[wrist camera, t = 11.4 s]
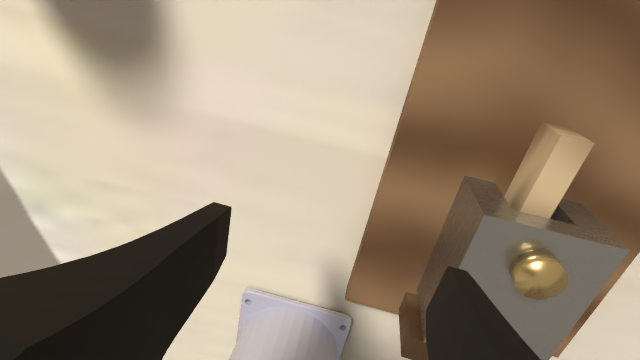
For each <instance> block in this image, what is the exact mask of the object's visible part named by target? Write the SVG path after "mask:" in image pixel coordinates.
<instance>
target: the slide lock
mask: <svg viewBox="0 0 640 360" xmlns="http://www.w3.org/2000/svg"><path fill="white" fill-rule="evenodd" d="M629 251H630V250H629V249H628V248H627V247H626V246H625V245H624V244H623V243H622V242H621V241H620V240H619V239H618V238H617V237H616V236H615V235H614V234H613V233H612V232H611V231H610V230H609V229H607V228H606V227H605V226H604V225H603V224H602V223H601V222H600V221H599V220H598V219H597V218H596V217H595V216H594V215H593V214H592V213H591V212H590V211H589V210H588V209H587V208H586V207H585V206H584V205H582V204H581V203H578V202H574V201H570V200H566V199H561V201H560V202H559V204H558V206H557V207H556V209H555V211H554V213H553V214H552V216H551V218H550V219H549V218H545V217H541V216H537V215H532V214H528V213H524V212H520V211H516V210H513V209H512V208H511V206H510V205H509V203H508V202H507V200H506V199H505V197H504V195H503V194H502V192H501V191H500V189H499V188H498V186H497V185H496V183H494V182H490V181H486V180H481V179H477V178H473V177H469V176H465V175H464V178H463V180H462V182H461V185H460V187H459V189H458V192H457V194H456V197H455V199H454V201H453V204H452V206H451V208H450V211H449V213H448V216H447V218H446V220H445V223H444V225H443V227H442V230H441V232H440V235H439V237H438V239H437V242H436V244H435V246H434V249H433V251H432V254H431V256H430V258H429V261H428V263H427V265H426V268H425V270H424V273H423V275H422V277H421V280H420V282H419V284H418V287H417V294H418V302H419V309H420V317H421V325H422V333H423V341H424V342H426V309H427V307H428V305H429V303H430V301H431V299H432V297H433V295H434V293H435V291H436V289H437V287H438V285H439V283H440V281H441V278H442V276H443V274H444V272H445V270H446V268H447V266H451V267H454V268H458V269H462V270H465V271H467V272H468V273H469V274H470V275H471V276H472V277H473V279H474V280H475V281H476V282H477V284H478V285H479V286H480V287H481V289H482V290H483V291H484V292H485V294H486V295H487V296H488V298H489V299H490V300H491V301H492V303H493V304H494V305H495V306H496V308H497V309H498V310H499V311H500V313H501V314H502V315H503V316H504V318H505V319H506V320H507V321H508V322H509V324H510V325H511V326H512V327H513V329H514V330H515V331H516V332H517V333H518V334H519V336H520V337H521V338H522V339H523V340H524V341H525V342H526V344H527V345H528V346H529V347H530V348H531V349H532V350H533V351H534V353H535V354H536V355H537V356H538V357H539V358H540V359H541V360H549V359H550V358H551V356H552V355H553V354H554V352H555V351H556V350H557V348H558V347H559V346H560V344H561V343H562V342H563V340H564V339H565V338H566V336H567V335H568V333H569V332H570V331H571V329H572V328H573V327H574V325H575V324H576V323H577V321H578V320H579V319H580V317H581V316H582V315H583V313H584V312H585V311H586V309H587V308H588V307H589V305H590V304H591V303H592V301H593V300H594V298H595V297H596V296H597V294H598V293H599V292H600V290H601V289H602V288H603V286H604V285H605V284H606V282H607V281H608V280H609V278H610V277H611V276H612V274H613V273H614V272H615V270H616V269H617V268H618V266H619V265H620V264H621V262H622V261H623V259H624V258H625V257H626V255H627V254H628V253H629Z"/></svg>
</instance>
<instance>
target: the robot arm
mask: <svg viewBox="0 0 640 360" xmlns="http://www.w3.org/2000/svg"><path fill="white" fill-rule="evenodd" d="M231 208H232V207H230V206H226V205H222V204H219V203H215V202H213V203H211V204H209V205H207V206H205V207H203V208H201V209H199V210H197V211H195V212H193V213H191V214H190V215H188V216H186V217H184V218H182V219H180V220H178V221H175V222H173V223H171V224H169V225H167V226H165V227H163V228H161V229H159V230H156V231H154V232H152V233H150V234H147V235H145V236H143V237H140V238H138V239H136V240H133V241H131V242H128V243H126V244H123V245H121V246H118V247H115V248H112V249H109V250H106V251H104V252H101V253H98V254H95V255H91V256H88V257H85V258H81V259H78V260H74V261H70V262H67V263H63V264H60V265H56V266H53V267H48V268H44V269H41V270H36V271H31V272H27V273H23V274H18V275H12V276H7V277H2V278H0V360H162V358H163V356H164V355H165V353H166V351H167V349H168V348H169V346H170V345H171V343H172V341H173V340H174V338H175V337H176V335H177V334H178V332H179V331H180V329H181V328H182V326H183V325H184V324H185V322H186V321H187V319H188V318H189V316H190V315H191V313H192V312H193V310H194V309H195V307H196V306H197V304H198V303H199V302H200V300H201V299H202V297H203V296H204V294H205V293H206V291H207V290H208V288H209V287H210V285H211V284H212V282H213V280H214V279H215V277H216V275H217V273H218V271H219V269H220V267H221V265H222V263H223V261H224V259H225V257H226V252H227V243H228V235H229V226H230V217H231ZM248 299H249V300H251V301H249V300H248ZM351 324H352V318H351V317H350V316H349V315H347V314H343V313H340V312H336V311H332V310H329V309H325V308H321V307H318V306H314V305H310V304H307V303H303V302H299V301H296V300H292V299H288V298H285V297H281V296H277V295H274V294H270V293H266V292H263V291H259V290H255V289H252V288H247V289H245V291H244V293H243V295H242V303H241V310H240V318H239V325H238V333H237V341H236V345H235V347H234V349H233V352H232V354H231V356H230V359H229V360H339V359H340V356H341V353H342V351H343V348H344V345H345V342H346V339H347V336H348V333H349V330H350V327H351ZM341 325H344V326H341ZM426 344H427V351H428V358H429V360H541V359H540V358H539V357H538V356H537V355H536V354H535V353H534V351H533V350H532V349H531V348H530V347H529V346H528V345H527V344H526V342H525V341H524V340H523V339H522V338H521V337H520V336H519V334H518V333H517V332H516V331H515V330H514V329H513V327H512V326H511V325H510V324H509V322H508V321H507V320H506V319H505V318H504V316H503V315H502V314H501V313H500V311H499V310H498V309H497V308H496V306H495V305H494V304H493V303H492V301H491V300H490V299H489V298H488V296H487V295H486V294H485V292H484V291H483V290H482V289H481V287H480V286H479V285H478V284H477V282H476V281H475V280H474V279H473V277H472V276H471V275H470V274H469V273H468V272H467V271H465V270H462V269H458V268H454V267H451V266H447V268H446V270H445V272H444V274H443V276H442V278H441V281H440V283H439V285H438V287H437V289H436V291H435V293H434V295H433V297H432V299H431V301H430V303H429V305H428V307H427V309H426Z"/></svg>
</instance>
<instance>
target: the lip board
mask: <svg viewBox="0 0 640 360" xmlns="http://www.w3.org/2000/svg"><path fill="white" fill-rule="evenodd" d="M464 175H465V176H469V177H473V178H477V179H481V180H486V181H490V182H494V183H496V185H497V186H498V188H499V189H500V191H501V192H502V194H503V195H504V197H505V199H506V200H507V202H508V203H509V205H510V206H511V208H512V209H513V210H516V211H520V212H524V213H528V214H532V215H537V216H541V217H545V218H549V219H550V218H551V216H552V214H553V213H554V211H555V209H556V207H557V206H558V204H559V202H560V201H561V199H566V200H570V201H574V202H578V203H581V204H582V205H584V206H585V207H586V208H587V209H588V210H589V211H590V212H591V213H592V214H593V215H594V216H595V217H596V218H597V219H598V220H599V221H600V222H601V223H602V224H603V225H604V226H605V227H606V228H607V229H609V230H610V231H611V232H612V233H613V234H614V235H615V236H616V237H617V238H618V239H619V240H620V241H621V242H622V243H623V244H624V245H625V246H626V247H627V248H628V249H629V250H630V251H629V253H628V254H627V255H626V257H625V258H624V259H623V261H622V262H621V264H620V265H619V266H618V268H617V269H616V270H615V272H614V273H613V274H612V276H611V277H610V278H609V280H608V281H607V282H606V284H605V285H604V286H603V288H602V289H601V290H600V292H599V293H598V294H597V296H596V297H595V298H594V300H593V301H592V303H591V304H590V305H589V307H588V308H587V309H586V311H585V312H584V313H583V315H582V316H581V317H580V319H579V320H578V321H577V323H576V324H575V325H574V327H573V328H572V329H571V331H570V332H569V333H568V335H567V336H566V338H565V339H564V340H563V342H562V343H561V344H560V346H559V347H558V348H557V350H556V351H555V352H554V354H553V355H552V356H554V357H559V355H560V354H561V353H562V351H563V350H564V349H565V347H566V346H567V345H568V344H569V342H570V341H571V340H572V338H573V337H574V336H575V335H576V333H577V332H578V331H579V329H580V328H581V327H582V326H583V324H584V323H585V322H586V320H587V319H588V318H589V317H590V315H591V314H592V313H593V311H594V310H595V309H596V307H597V306H598V305H599V304H600V302H601V301H602V300H603V298H604V297H605V296H606V295H607V293H608V292H609V291H610V289H611V288H612V287H613V286H614V284H615V283H616V282H617V280H618V279H619V278H620V276H621V275H622V274H623V273H624V271H625V270H626V269H627V267H628V266H629V265H630V264H631V262H632V261H633V260H634V258H635V257H636V256H637V255H638V253H639V252H640V0H437V1H436V4H435V7H434V11H433V14H432V17H431V20H430V23H429V27H428V30H427V33H426V36H425V39H424V43H423V46H422V49H421V52H420V55H419V59H418V62H417V65H416V68H415V71H414V75H413V78H412V81H411V84H410V87H409V91H408V94H407V97H406V100H405V103H404V107H403V110H402V113H401V116H400V119H399V123H398V126H397V129H396V132H395V135H394V139H393V142H392V145H391V148H390V151H389V155H388V158H387V161H386V164H385V167H384V171H383V174H382V177H381V180H380V183H379V187H378V190H377V193H376V196H375V199H374V203H373V206H372V209H371V212H370V215H369V219H368V222H367V225H366V228H365V231H364V235H363V238H362V241H361V244H360V247H359V251H358V254H357V257H356V260H355V263H354V267H353V270H352V273H351V276H350V279H349V283H348V286H347V289H346V296H345V300H347V301H351V302H355V303H358V304H362V305H366V306H369V307H373V308H377V309H381V310H384V311H388V312H392V313H395V314H399V323H400V341H401V357H405V358H408V359H412V360H429V358H428V351H427V344H426V342H424V341H423V333H422V325H421V317H420V309H419V302H418V294H417V287H418V284H419V282H420V280H421V277H422V275H423V273H424V270H425V268H426V265H427V263H428V261H429V258H430V256H431V254H432V251H433V249H434V246H435V244H436V242H437V239H438V237H439V235H440V232H441V230H442V227H443V225H444V223H445V220H446V218H447V216H448V213H449V211H450V208H451V206H452V204H453V201H454V199H455V197H456V194H457V192H458V189H459V187H460V185H461V182H462V180H463V178H464Z"/></svg>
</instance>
